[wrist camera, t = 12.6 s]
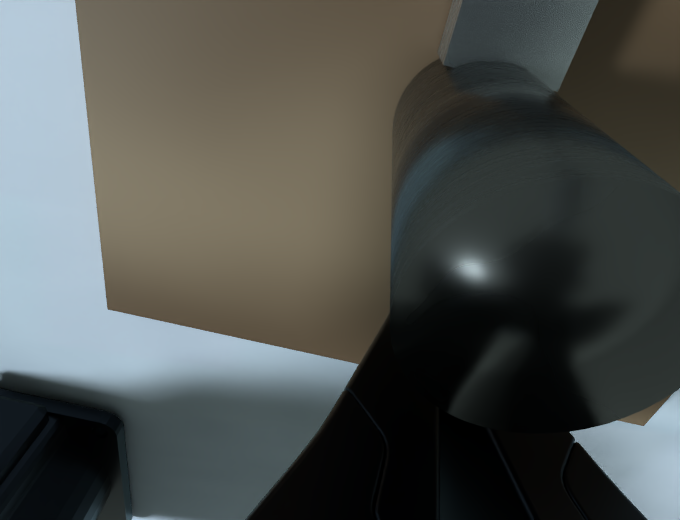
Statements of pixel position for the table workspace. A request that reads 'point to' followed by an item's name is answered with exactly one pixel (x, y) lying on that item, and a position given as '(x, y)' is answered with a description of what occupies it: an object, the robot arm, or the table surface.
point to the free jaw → (526, 235)
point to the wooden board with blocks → (302, 150)
